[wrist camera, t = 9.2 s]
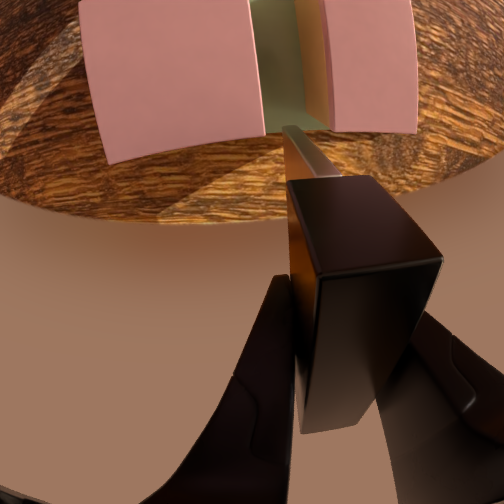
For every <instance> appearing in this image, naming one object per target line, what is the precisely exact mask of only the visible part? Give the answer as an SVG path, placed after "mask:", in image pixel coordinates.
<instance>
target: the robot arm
mask: <svg viewBox="0 0 504 504" xmlns="http://www.w3.org/2000/svg"><path fill="white" fill-rule="evenodd" d="M295 365H296V309H295V304H294V299H293V295H292V290H291V285H290V279H289V276H288V275H287V274H283V275H275V276H274V277H273V278H272V281H271V283H270V286H269V288H268V291H267V294H266V296H265V298H264V301H263V303H262V305H261V308H260V310H259V313H258V315H257V318H256V320H255V323H254V325H253V327H252V330H251V332H250V335H249V337H248V339H247V342H246V344H245V346H244V349H243V351H242V354H241V356H240V358H239V360H238V363H237V365H236V368H235V370H234V372H233V376H232V377H231V379H230V381H229V383H228V386H227V388H226V390H225V392H224V394H223V396H222V398H221V400H220V402H219V404H218V406H217V408H216V410H215V412H214V413H213V415H212V417H211V418H210V420H209V422H208V424H207V425H206V427H205V428H204V430H203V431H202V433H201V435H200V436H199V437H198V439H197V440H196V442H195V444H194V445H193V447H192V448H191V450H190V451H189V453H188V454H187V455H186V457H185V458H184V460H183V461H182V463H181V464H180V466H179V467H178V468H177V470H176V471H175V472H174V474H173V475H172V476H171V477H170V478H169V479H168V480H167V482H166V483H165V484H164V485H163V486H161V487H160V488H159V489H158V490H157V491H155V492H154V493H153V494H151V495H150V496H149V497H147V498H146V499H144V500H143V501H142V502H140V503H139V504H287V501H288V491H289V480H290V466H291V454H292V438H293V420H294V396H295ZM375 399H376V402H377V406H378V410H379V414H380V417H381V421H382V425H383V429H384V434H385V438H386V442H387V446H388V451H389V455H390V460H391V466H392V471H393V476H394V481H395V486H396V492H397V498H398V504H504V374H502V373H501V372H500V371H498V370H497V369H496V368H494V367H493V366H492V365H490V364H489V363H488V362H486V361H485V360H484V359H483V358H481V357H480V356H478V355H477V354H476V353H475V352H474V351H472V350H471V349H470V348H469V347H468V346H467V345H465V344H464V343H463V342H462V341H460V340H459V339H458V338H457V337H456V336H455V335H452V333H451V332H450V331H449V330H448V329H446V328H445V327H444V326H443V325H442V324H441V323H439V322H438V321H437V320H436V319H434V318H433V317H432V316H430V315H429V314H428V313H427V312H426V311H425V310H424V312H423V314H422V316H421V318H420V321H419V323H418V325H417V327H416V329H415V331H414V333H413V335H412V337H411V339H410V341H409V343H408V344H407V346H406V348H405V350H404V352H403V354H402V355H401V357H400V359H399V361H398V362H397V364H396V366H395V368H394V369H393V371H392V373H391V374H390V376H389V378H388V379H387V381H386V382H385V384H384V386H383V387H382V389H381V390H380V392H379V393H378V395H377V396H376V398H375ZM0 504H50V503H47V502H45V501H42V500H39V499H36V498H33V497H30V496H27V495H24V494H21V493H19V492H16V491H14V490H11V489H8V488H6V487H4V486H1V485H0Z"/></svg>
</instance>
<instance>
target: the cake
mask: <svg viewBox="0 0 504 504" xmlns="http://www.w3.org/2000/svg"><path fill="white" fill-rule="evenodd" d="M78 12H79V23H80V33H81V41H82V49H83V56H84V62H85V69H86V74H87V80H88V85H89V90H90V95H91V100H92V104H93V109H94V113H95V117H96V122H97V126H98V130H99V133H100V137H101V141H102V145H103V148H104V152H105V155H106V159H107V162H108V165H113V164H116V163H120V162H124V161H128V160H132V159H136V158H140V157H144V156H148V155H153V154H157V153H162V152H167V151H172V150H177V149H182V148H187V147H193V146H198V145H204V144H210V143H217V142H224V141H231V140H239V139H247V138H255V137H264V136H265V135H266V133H265V123H264V114H263V105H262V96H261V88H260V80H259V71H258V63H257V55H256V48H255V40H254V33H253V26H252V18H251V11H250V5H249V0H82V1H80V2H78Z"/></svg>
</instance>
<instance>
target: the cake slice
mask: <svg viewBox="0 0 504 504" xmlns="http://www.w3.org/2000/svg"><path fill="white" fill-rule="evenodd" d="M294 4H295V11H296V18H297V25H298V33H299V41H300V50H301V59H302V69H303V80H304V92H305V105H306V113H307V114H309V115H310V116H312V117H314V118H315V119H317V120H318V121H320V122H321V123H322V124H324V125H325V126H327V127H328V128H330V129H331V130H332V131H333V132H382V133H403V134H416V133H417V118H418V66H417V49H416V37H415V28H414V20H413V13H412V6H411V1H410V0H294Z"/></svg>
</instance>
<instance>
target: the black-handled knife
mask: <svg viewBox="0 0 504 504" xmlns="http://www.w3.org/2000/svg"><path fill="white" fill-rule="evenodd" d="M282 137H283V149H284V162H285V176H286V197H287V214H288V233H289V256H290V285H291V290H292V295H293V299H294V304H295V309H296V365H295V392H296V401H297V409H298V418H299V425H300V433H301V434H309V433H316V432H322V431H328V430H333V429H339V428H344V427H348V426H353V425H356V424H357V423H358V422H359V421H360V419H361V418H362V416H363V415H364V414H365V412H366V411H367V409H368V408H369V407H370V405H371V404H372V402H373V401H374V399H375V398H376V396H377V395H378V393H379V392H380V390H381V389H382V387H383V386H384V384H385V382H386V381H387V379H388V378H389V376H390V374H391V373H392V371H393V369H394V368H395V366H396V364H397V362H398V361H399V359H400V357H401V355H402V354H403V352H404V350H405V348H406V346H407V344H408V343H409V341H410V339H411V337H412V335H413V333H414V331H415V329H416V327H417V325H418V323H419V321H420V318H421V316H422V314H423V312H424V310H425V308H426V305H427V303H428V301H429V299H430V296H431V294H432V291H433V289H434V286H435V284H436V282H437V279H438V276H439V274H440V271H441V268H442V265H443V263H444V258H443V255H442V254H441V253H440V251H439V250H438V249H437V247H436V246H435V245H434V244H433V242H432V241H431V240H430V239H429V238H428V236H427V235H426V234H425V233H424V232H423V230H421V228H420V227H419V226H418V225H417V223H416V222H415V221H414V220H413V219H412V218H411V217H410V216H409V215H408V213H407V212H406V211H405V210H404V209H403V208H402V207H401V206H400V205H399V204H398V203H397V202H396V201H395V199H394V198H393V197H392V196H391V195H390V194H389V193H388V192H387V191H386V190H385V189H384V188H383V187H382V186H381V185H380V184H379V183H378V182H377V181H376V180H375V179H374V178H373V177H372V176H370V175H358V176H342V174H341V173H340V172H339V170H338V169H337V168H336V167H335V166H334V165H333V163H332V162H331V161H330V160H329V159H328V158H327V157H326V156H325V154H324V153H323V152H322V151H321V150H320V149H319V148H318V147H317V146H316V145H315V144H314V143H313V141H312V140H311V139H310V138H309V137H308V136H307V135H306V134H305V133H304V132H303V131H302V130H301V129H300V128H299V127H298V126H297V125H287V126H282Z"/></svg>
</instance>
